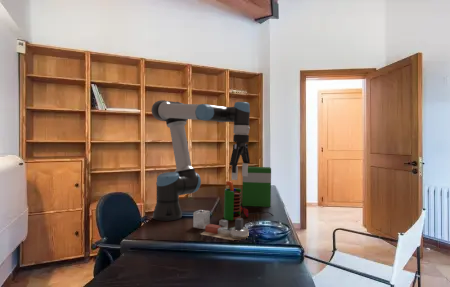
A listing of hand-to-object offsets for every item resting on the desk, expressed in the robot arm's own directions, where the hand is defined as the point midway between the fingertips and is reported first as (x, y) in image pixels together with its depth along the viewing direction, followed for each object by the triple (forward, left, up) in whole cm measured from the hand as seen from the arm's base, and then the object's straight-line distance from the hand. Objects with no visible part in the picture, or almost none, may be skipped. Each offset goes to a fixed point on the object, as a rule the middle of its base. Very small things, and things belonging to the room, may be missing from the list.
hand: (239, 178), depth 144 cm
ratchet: (+2, -17, -22) cm, 28 cm away
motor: (-7, +8, -24) cm, 26 cm away
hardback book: (-8, +46, -24) cm, 52 cm away
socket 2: (-2, -12, -22) cm, 25 cm away
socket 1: (-13, -13, -23) cm, 30 cm away
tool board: (+4, -16, -23) cm, 28 cm away
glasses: (-2, +25, -24) cm, 35 cm away
